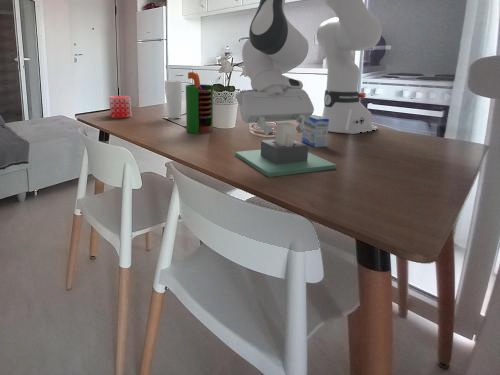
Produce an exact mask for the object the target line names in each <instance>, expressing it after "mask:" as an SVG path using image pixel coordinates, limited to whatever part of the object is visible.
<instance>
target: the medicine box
mask: <svg viewBox="0 0 500 375" xmlns="http://www.w3.org/2000/svg"><path fill="white" fill-rule="evenodd" d="M328 126H329V119H326V118H323V117H322V116H320V115H316V114H312V115H311V116H310V118H309V119H305V120H304V127H305V131H304V132H303V133H302V134H301V135H302V137H301V138H302V139H301V143H303V144H306V145H308V146H311V147H314V148H321V147H327V145H328V144H327V142H328V134H329V131H328Z"/></svg>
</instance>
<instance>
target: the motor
mask: <svg viewBox="0 0 500 375" xmlns="http://www.w3.org/2000/svg"><path fill="white" fill-rule="evenodd" d="M187 79H188V80H191V79H192V80H193V83H192V84H191V83H190V84H186V85H185V113H186V115H185V118H186V122H185V123H186V132H187V133H191V134H197V135H198V134H207V133H208V134H209V133H211V132H213V131H212V130H213V129H214V128H213V120H214V119H213V109H214V108H213V106H214V105H213V103H214V102H213V101H214V100H213V97H214V96H213V95H214V94H213V92H214V90H213V89H214V88H213V85H212V84H203V83H202V84H201V80H200V75H199V74H198V73H197V72H196V71H191V72H188V73H187Z"/></svg>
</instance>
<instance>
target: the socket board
mask: <svg viewBox="0 0 500 375" xmlns="http://www.w3.org/2000/svg"><path fill="white" fill-rule="evenodd" d="M235 156H236V157H237V158H239V159H240V160H242V161H244V162H245V163H247V165H250V166H251V167H253V169H255V170H257V171H259V172H261V173H262V174H263V175H265V176H266V177H267V178H273V177H274V178H275V177H279V176H289V175H296V174H297V175H298V174H303V173H304V174H305V173H311V172H319V171H320V172H321V171H328V170H334V169H335V170H336V168H337V164H335V163H333V162H331V161H329V160H326V159H324V158H322V157H320V156H317V155H315V154H313V153H311V152H309V145H308V144H306V143H303V142H302V141H301V142H300V141H298V140H296V139H294V145H293V147H287V146H279V145H277V144H275V139H267V140H266V139H265V140H260V149H251V150H243V151H235Z"/></svg>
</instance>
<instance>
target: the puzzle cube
mask: <svg viewBox="0 0 500 375" xmlns="http://www.w3.org/2000/svg"><path fill="white" fill-rule="evenodd" d="M108 101H109V109H110V110H109V112H110V118H111V119H112V118H113V119H115V118H118V117H119V118H132V107H131V96H130V95H110V96H109V98H108Z"/></svg>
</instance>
